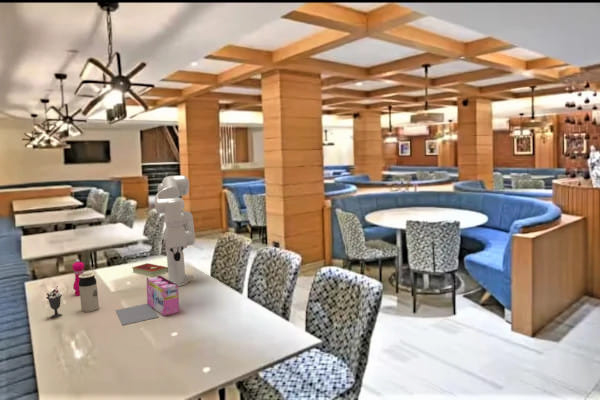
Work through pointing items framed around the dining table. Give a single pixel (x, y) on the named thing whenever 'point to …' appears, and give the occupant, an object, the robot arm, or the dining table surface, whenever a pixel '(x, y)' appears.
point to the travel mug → (88, 292)
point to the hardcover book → (150, 269)
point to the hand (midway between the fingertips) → (177, 260)
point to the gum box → (163, 295)
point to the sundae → (54, 302)
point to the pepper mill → (77, 275)
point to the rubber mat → (136, 314)
